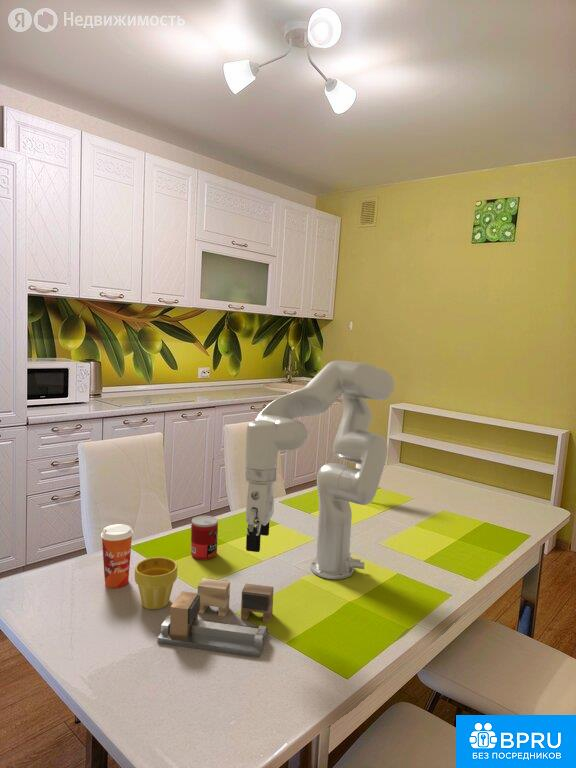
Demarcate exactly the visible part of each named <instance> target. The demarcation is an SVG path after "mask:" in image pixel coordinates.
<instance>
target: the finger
mask: <svg viewBox="0 0 576 768" xmlns="http://www.w3.org/2000/svg"><path fill="white" fill-rule="evenodd" d="M244 584H245V585H244V586H243V588H242V590H241V603H240V619H241V620H248V619H249V616H250V614H251V613H252V612H253V613H261V614H262V623H263V622H264V623H270V622H271V619H272V616H273V609H274V590H275V589H274V586H271V585H270V586H269V585H261V584H255V583H254V584H253V583H244Z"/></svg>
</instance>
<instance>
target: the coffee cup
mask: <svg viewBox="0 0 576 768" xmlns="http://www.w3.org/2000/svg"><path fill="white" fill-rule="evenodd" d="M134 533H135V532H134V531H133V528H131V526H130V525H128V524H123V523H117V524H116V523H115V524H111V525H108V526H104V528H103V529H102V532H101V534H100V538H101V541H102V543H101V544H102V560H103V561H102V562H103V575H104V584H105V586H106V588H109V589H119V588H123V587H124V586H125V587H126V586H127V585H128V584H129V577H130V568H131V567H130V565H131V549H132V540H133V539H132V538H133V537H132V536H133V535H134Z"/></svg>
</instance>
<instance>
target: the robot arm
mask: <svg viewBox="0 0 576 768" xmlns="http://www.w3.org/2000/svg"><path fill="white" fill-rule="evenodd" d="M394 388H395V381H394V377H393V376H392V374H391V373H390V372H389V371H387V370H385V369H383V368H382V369H381V368H379V367H376V366H374V365H371V364H368V363H365V362H359V361H350V360H349V361H348V360H340V359H339V360H337V359H336V360H332V361H330V362H328V363H327V364H326V365H324V366H323V368H322V369H321V370H320V371H319V372H317V374H316V375H315V376H314V377H313V378H312V379H311V380H310V381H309V382H308V383H307V384H306V385H304V387H302V388H299V389H296V390H294V391H292V392H289V393H286V394H285V395H282V396H279V397H278V398H276V399H274V400H272V401H271V402H269V403H268V404H267V405H266V406H265V407H264V408H263V409H262V411H260V412H259V413H258V415H257V416H256V417H255V419H254V420H253V421H250V422H249V423H248V424H247V426H246V436H245V437H246V438H245V439H246V440H245V458H244V459H245V460H244V480H245V481H246V482H248V484H247V491H246V493H247V494H246V506H245V507H246V509H245V510H246V511H245V514H246V515H245V521H246V524H247V527H246V536H245V537H246V541H245V542H246V543H245V551H246V552H254V553H260V550H261V536H267V537H268V536H269V535H270V521H271V519H272V517H273V514H274V512H275V510H274V509H275V491H274V490H275V482H276V481H277V477H278V476H277V474H278V472H277V471H278V453H279V451H295V450H297V449H300V448H301V447H302V446H303V445H304V444H305V443H306V442H307V438H308V430H307V428H306V426H305V424H304V423H303V422H301V420H300V421H299V420H297V418H302V417H303V418H304V417H309V416H314V415H319V414H323V413H326V412H327V411H328V410H329V409H330V407H331V406H332V405H334V403H335V402H336V401H337V399H339V397H340V396H341V400H342V404H343V412H342V417H341V418H340V422H339V426H338V429H337V432H336V435H335V437H334V442H333V444H332V452H333V455H334V456H335V457H336V458H338V459H339V460H341V461H345V462H348V463H353V464H355V465H356V464H361V469H358V468H356V467H354V466H349V465H346V464H341V463H337V462H329V463H328V462H327V463H325V464H323V465H322V466H321V467H320V468H319V470H318V472H317V475H316V486H317V493H318V521H317V536H316V537H317V539H316V540H317V541H316V557H315V559H313V560H312V561H311V562H310V570H311V572H313V574H315V575H316V576H318V577H320V578H324V579H327V580H343V579H347V578H349V577H351V576H352V575H353V574H354V571H355V569H359V570H365V562H364V561H361V558H354V557H353V556H352V557H351V554H352V553H351V551H350V549H351V534H352V533H351V532H352V531H351V530H352V508H351V504H350V503H353V504H355V505H361V506H368V505H370V504H371V502H373V500H374V498H375V497H376V494H377V492H378V488H379V485H380V482H381V479H382V475H383V472H384V469H385V465H386V461H387V457H388V453H389V452H388V450H389V449H388V443H387V440H386V439H385V437H384V436H382V435H381V434H379V433H375V432H369V429H370V427H371V426H370V425H371V422H372V417H373V416H372V415H373V414H372V411H371V408H370V405H369V403H368V402H367V399H368V400H375V401H385V400H387V399H389V398H390V397H391V396H392V394H393V392H394Z"/></svg>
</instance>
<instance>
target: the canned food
mask: <svg viewBox="0 0 576 768" xmlns="http://www.w3.org/2000/svg"><path fill="white" fill-rule="evenodd" d="M218 521H219V519H217V517H215V516H212V515H198V516H194V517H192V519H191V527H190V528H191V529H190V530H191V531H190V554H191V557H192V558H193V559H196V560H198V561H207V560H212V559H214V558H215V557H216V556H217V554H218V553H217V552H218V538H219V537H218V532H219V530H218V527H219V522H218Z"/></svg>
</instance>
